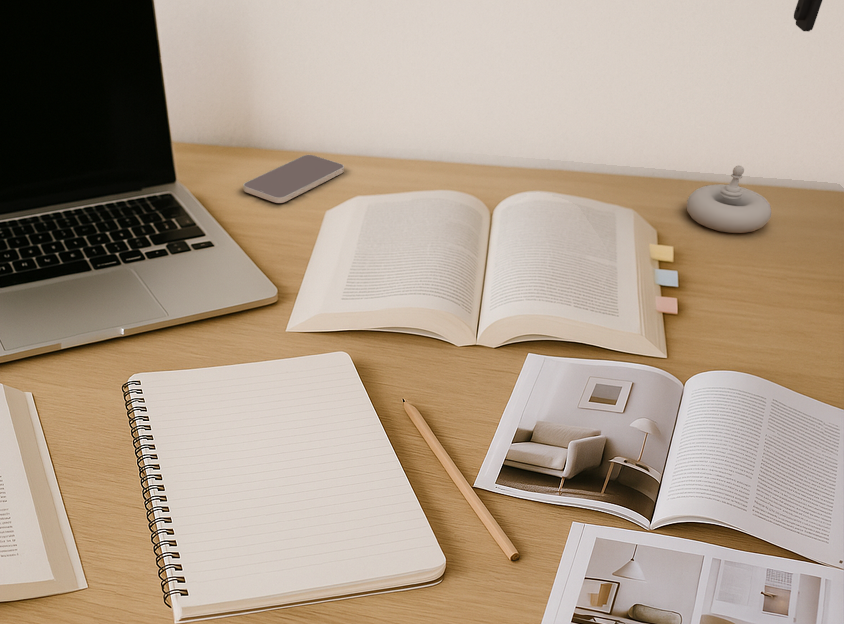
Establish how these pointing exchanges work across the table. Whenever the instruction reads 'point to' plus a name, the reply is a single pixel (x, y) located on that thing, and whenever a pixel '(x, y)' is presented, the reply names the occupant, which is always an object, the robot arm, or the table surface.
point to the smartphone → (293, 178)
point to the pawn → (733, 185)
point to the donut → (728, 210)
